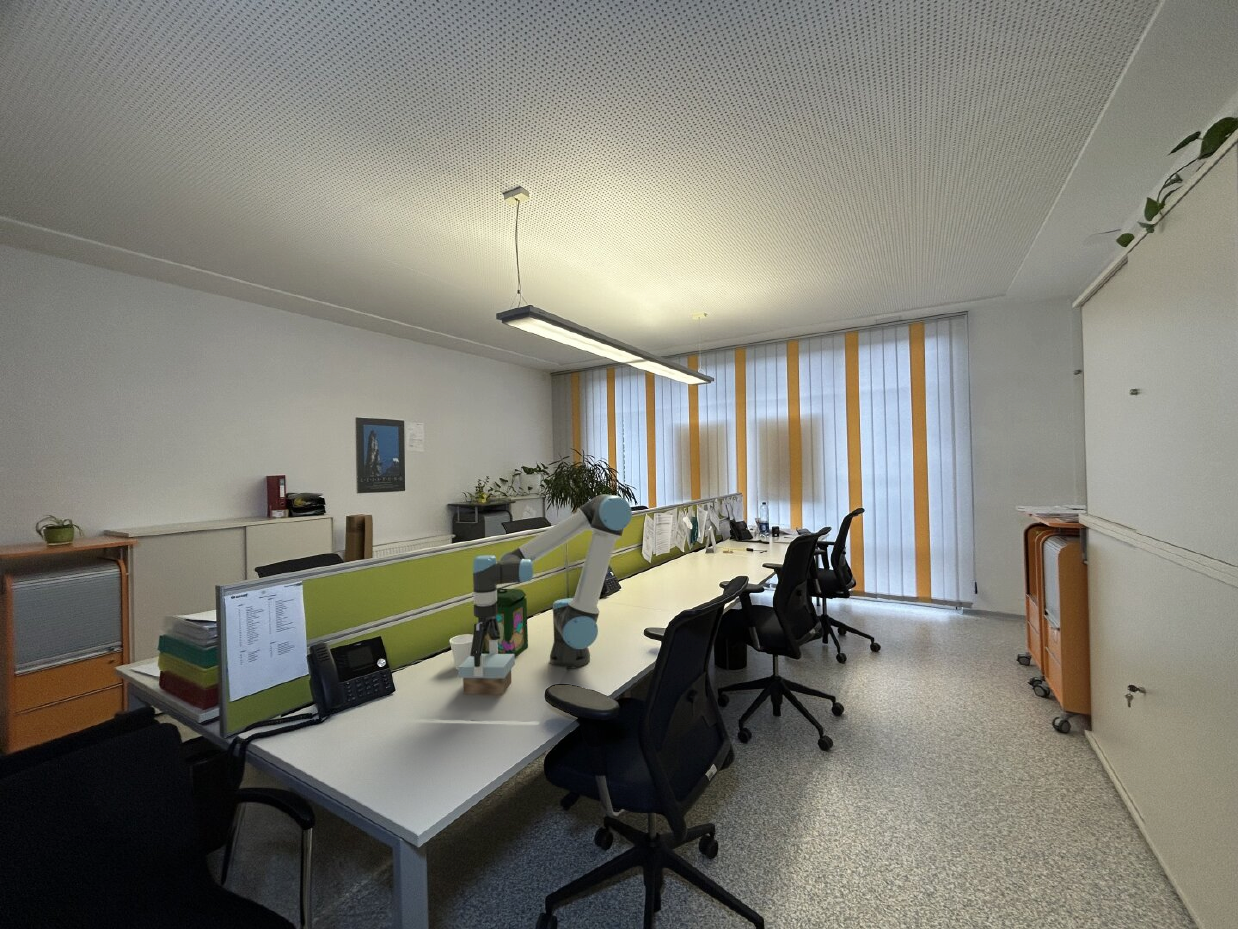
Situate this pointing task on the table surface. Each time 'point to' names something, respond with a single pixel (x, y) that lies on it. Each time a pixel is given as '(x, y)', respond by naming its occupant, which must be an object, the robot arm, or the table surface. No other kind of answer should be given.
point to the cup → (461, 648)
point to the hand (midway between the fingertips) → (486, 667)
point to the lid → (488, 666)
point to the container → (510, 622)
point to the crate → (487, 685)
